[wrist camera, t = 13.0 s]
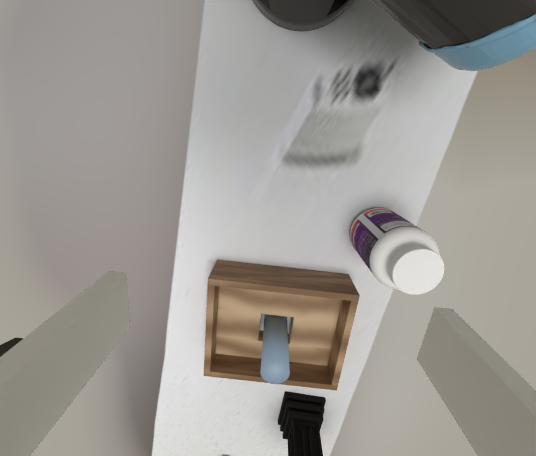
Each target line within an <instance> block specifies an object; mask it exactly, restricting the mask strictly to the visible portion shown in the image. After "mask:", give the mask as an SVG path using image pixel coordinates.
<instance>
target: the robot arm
mask: <svg viewBox="0 0 536 456" xmlns="http://www.w3.org/2000/svg"><path fill="white" fill-rule="evenodd" d="M253 1H254V3H255V4H256V6H257V7H258V9H259V10H260V11H261V12H262V13H263V14H264V15H265V16H266V17H267V18H268V19H269V20H271V21H272V22H274V23H275V24H277V25H279V26H281V27H283V28H286V29H290V30H295V31H308V30H314V29H317V28H320V27H323V26H325V25H327V24H329V23H330V22H332V21H333V20H335V19H336V18H337V17H339V16H340V15H341V14H342V13H343V12H344V11H345V10H346V9H347V8H348V6H349V5H350V4H351V2H352V1H353V0H253ZM374 1H375V2H376V3H377V4H378V5H379V6H380V7H382V8H383V9H384V10H385V11H386V12H387V13H388V14H390V15H391V16H392V17H393V18H394V19H395V20H396V21H398V22H399V23H400V24H401V25H402V26H403V27H404V28H406V29H407V30H408V31H409V32H410V33H411V34H412V35H414V36H415V37H416V38H417V39H418V40H419V44H420V45H421V46H422V47H423V48H424V49H425V50H426V51H429V52H432V53H435V54H436V55H437V56H439V57H440V58H441V59H443V60H444V61H445V62H446V63H448V64H449V65H450V66H452V67H454V68H456V69H458V70H467V71H469V70H471V71H477V70H483V69H487V68H491V67H494V66H498V65H500V64H503V63H506V62H508V61H511V60H513V59H515V58H517V57H519V56H521V55H523V54H525V53H527V52H529V51H531V50H533V49H535V48H536V0H374ZM129 328H130V319H129V302H128V286H127V273H123V272H114V271H108V272H107V273H106V274H104V275H103V276H102V277H101V278H99V279H98V280H97V281H95V282H94V283H93V284H92V285H91V286H89V287H88V288H87V289H85V290H84V291H83V292H82V293H80V294H79V295H78V296H77V297H75V298H74V299H73V300H72V301H70V302H69V303H68V304H67V305H65V306H64V307H63V308H61V309H60V310H59V311H58V312H56V313H55V314H54V315H53V316H51V317H50V318H49V319H48V320H46V321H45V322H44V323H43V324H41V325H40V326H39V327H38V328H36V329H35V330H34V331H32V332H31V333H30V334H29V335H28V336H26V337H25V338H24V339H23V338H14V339H12V340H10V341H8V342H6V343H4V344H2V345H0V456H30V455H31V454H32V453H33V452H34V450H35V449H36V448H37V447H38V445H39V444H40V442H41V441H42V440H43V439H44V437H45V436H46V435H47V434H48V432H49V431H50V430H51V428H52V427H53V426H54V424H55V423H56V422H57V421H58V419H59V418H60V417H61V416H62V414H63V413H64V412H65V410H66V409H67V408H68V406H69V405H70V404H71V402H72V401H73V400H74V399H75V397H76V396H77V395H78V394H79V392H80V391H81V390H82V388H83V387H84V386H85V384H86V383H87V382H88V381H89V379H90V378H91V377H92V376H93V374H94V373H95V372H96V370H97V369H98V368H99V367H100V365H101V364H102V363H103V361H104V360H105V358H106V357H107V356H108V355H109V354H110V352H111V351H112V350H113V348H114V347H115V346H116V345H117V343H118V342H119V341H120V339H121V338H122V337H123V336H124V334H125V333H126V332H127V330H128V329H129ZM417 360H418V361H419V363H420V365H421V366H422V368H423V370H424V371H425V372H426V374H427V376H428V377H429V379H430V381H431V382H432V384H433V385H434V387H435V389H436V390H437V392H438V393H439V395H440V396H441V398H442V400H443V401H444V403H445V404H446V406H447V407H448V409H449V411H450V412H451V414H452V416H453V417H454V419H455V420H456V422H457V423H458V425H459V427H460V428H461V430H462V431H463V433H464V435H465V436H466V438H467V439H468V441H469V442H470V444H471V446H472V447H473V449H474V451H475V452H476V454H477V455H478V456H536V391H535V390H534V389H533V388H532V387H531V386H530V385H529V384H528V383H527V382H526V381H525V380H524V379H523V378H522V377H521V376H520V375H519V374H518V373H517V372H516V371H515V370H514V369H513V368H512V367H511V366H510V365H509V364H508V363H507V362H506V361H505V360H504V359H503V358H502V357H501V356H500V355H499V354H498V353H497V352H496V351H495V350H493V348H491V347H490V345H489V344H488V343H486V341H484V340H483V339H482V338H481V337H480V336H479V335H478V334H477V333H476V332H475V331H474V330H473V329H472V328H471V327H470V326H469V325H468V324H467V323H466V322H465V321H464V320H463V319H462V318H461V317H460V316H459V315H458V314H457V313H456V312H455V311H454V310H453V309H447V308H438V307H434V310H433V313H432V316H431V319H430V322H429V325H428V328H427V331H426V333H425V336H424V339H423V342H422V345H421V348H420V351H419V354H418V357H417Z"/></svg>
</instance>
